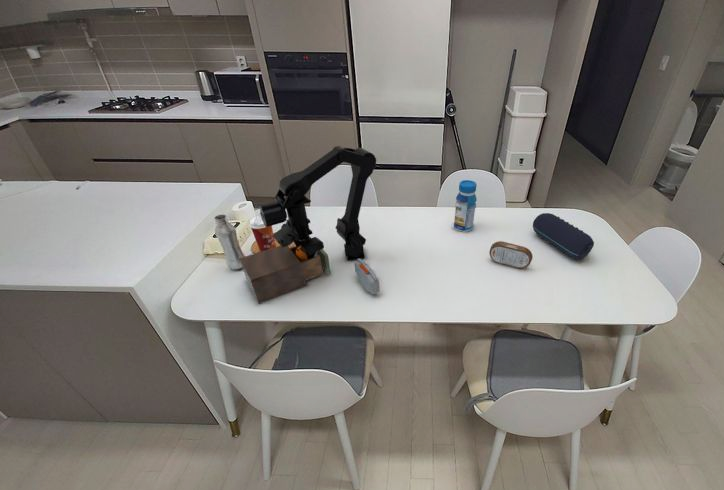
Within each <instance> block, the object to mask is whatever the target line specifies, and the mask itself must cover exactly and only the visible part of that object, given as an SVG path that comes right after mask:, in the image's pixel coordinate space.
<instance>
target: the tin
mask: <svg viewBox="0 0 724 490" xmlns="http://www.w3.org/2000/svg"><path fill="white" fill-rule="evenodd" d="M489 257H490V259H491V260H492V261H493V262H495V263H496V264H500V265H503V266H508V267H512V268H515V269H526V268H528V267H529V266H530V264H531V263H532V261H533V257H534V255H533V253H532V251H531V250H530V249H529V248H528V247H526V246H523V245H519V244H515V243H510V242H506V241H502V240H500V241H496V242H493V243H492V244H491V245H490V248H489Z"/></svg>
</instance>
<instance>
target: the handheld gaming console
mask: <svg viewBox="0 0 724 490" xmlns="http://www.w3.org/2000/svg"><path fill="white" fill-rule="evenodd" d="M353 264H354V269H355V270H354V271H355V274H356V275H357V278H358V281H359V283H360V285H361V286H362V287H363V288H364V290H366V291H367V293H370V294H371V295H377V294H379V293H380V291H381V290H380V281H379V277H378V276H377V274H376V273H375V271H374V270H373V269H372V268H371V266H370V265H369V264H368V263H367V262H366V261H365V260H364V259H360V258H359V259H357V260H355V261H354V262H353Z"/></svg>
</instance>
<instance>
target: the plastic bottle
mask: <svg viewBox="0 0 724 490" xmlns="http://www.w3.org/2000/svg"><path fill="white" fill-rule="evenodd" d="M214 221H215V224H216V225H215V229H214V234H215V236H216V239H217V240H218V242H219V243H220V246H221V248H222V250H223V254H224V257H225V263H226V265H227V267H228V268H230V269H231V270H240V269H243V268H242V265H241V262H240V259H239V258H243V257H246V256H245V253H244V252H243V250H242V248H241V246H240V243H239V240H238V235H237V229H236V227H235V225H233V224H232V223H230V222H229V219H228V217H227V215H226V214H218V215H215V216H214Z"/></svg>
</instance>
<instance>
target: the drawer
mask: <svg viewBox="0 0 724 490" xmlns="http://www.w3.org/2000/svg"><path fill="white" fill-rule="evenodd" d="M289 248H290V249H291V251H292V252H293V253H294V255H295V256H296V250H297V247H296V245H293V246H290V247H289ZM296 257H297V256H296ZM297 259H298V258H297ZM298 260H299V259H298ZM299 261H300V260H299ZM300 263H301V266H302V271H303V275H304V279H305V281H309V280H311V279H314V278H316V277H319V276H322V275H323V274H324V272H325V273H326V274H327V275H329V274H331V273H332V271H331V266H330V260H329V254H328V253H327V252H326V251H325V250H324V248H323V249H321V250H319V251H316V253H315V256H314V258H311V259H308V260H305V261H300Z"/></svg>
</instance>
